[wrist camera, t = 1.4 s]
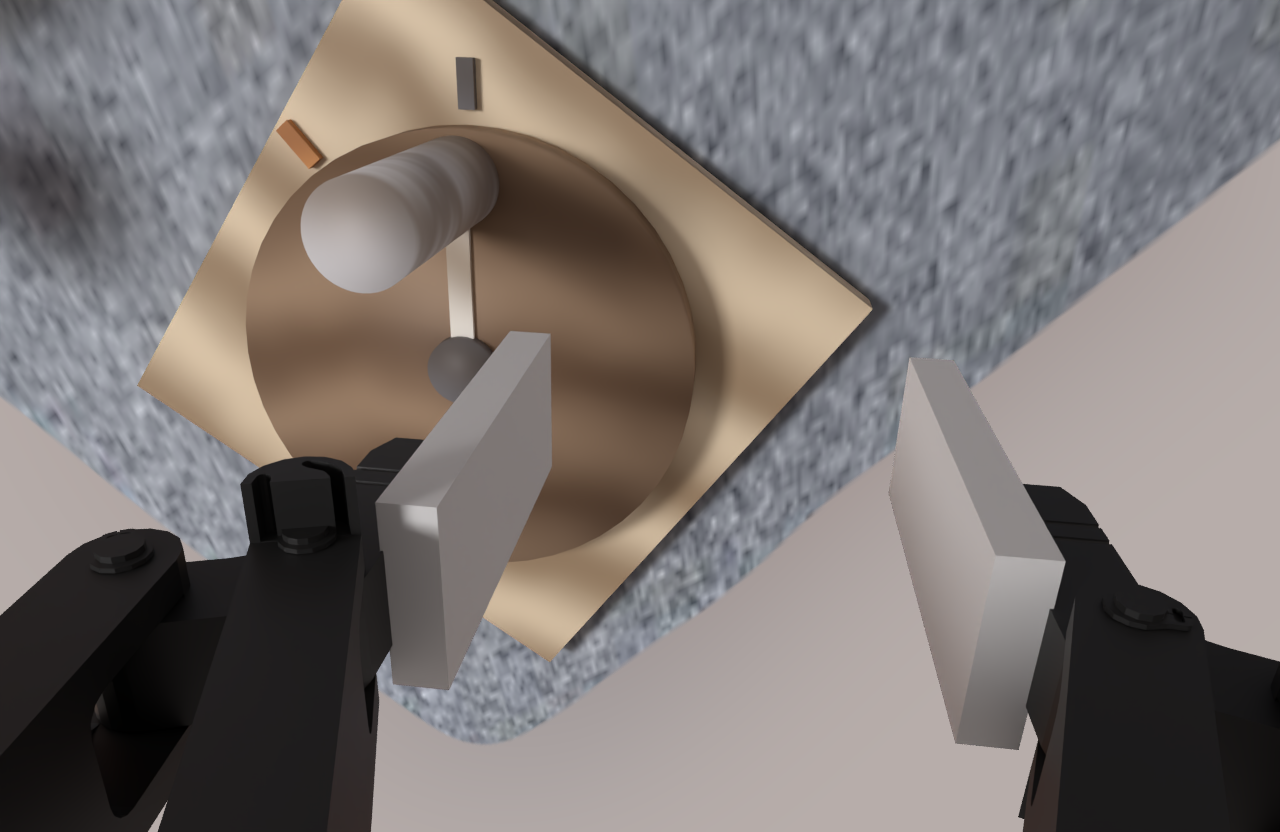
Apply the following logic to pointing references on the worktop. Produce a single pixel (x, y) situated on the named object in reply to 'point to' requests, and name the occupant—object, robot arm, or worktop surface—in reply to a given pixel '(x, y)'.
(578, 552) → the stand plate
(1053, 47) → the worktop surface
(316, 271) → the dial
